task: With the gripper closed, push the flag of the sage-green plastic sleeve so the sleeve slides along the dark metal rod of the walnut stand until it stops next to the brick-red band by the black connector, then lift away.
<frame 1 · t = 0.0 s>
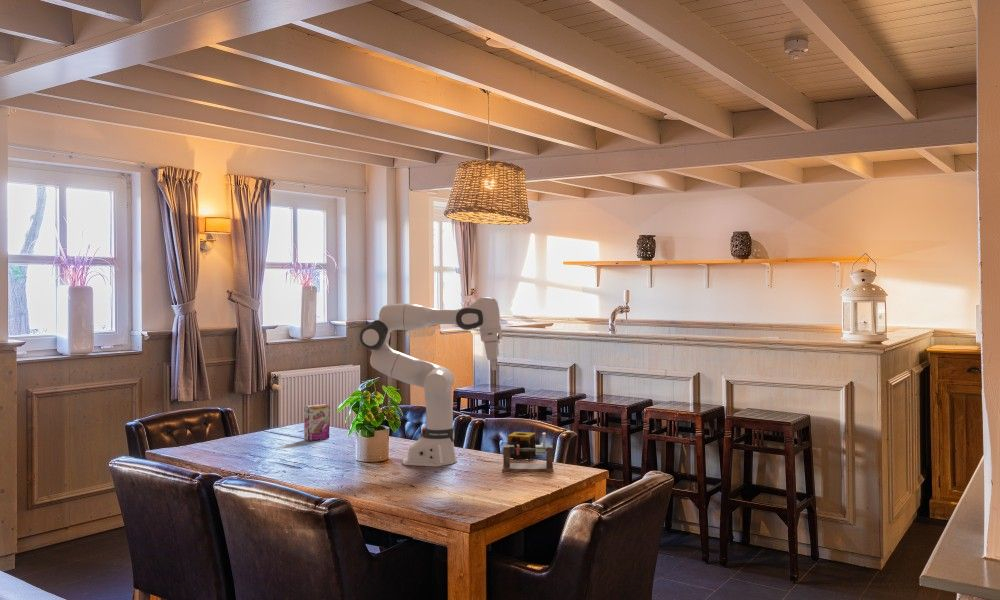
hand: (494, 368, 330), 39 cm above the table, tool pointing down, fingers open, 8 cm apart
candy bar box: (317, 439, 382), on the table
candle: (522, 457, 340), on the table
rod stand: (528, 469, 317), on the table
sleeve: (540, 443, 317), point 10 cm above the table, slide at 0.0 cm
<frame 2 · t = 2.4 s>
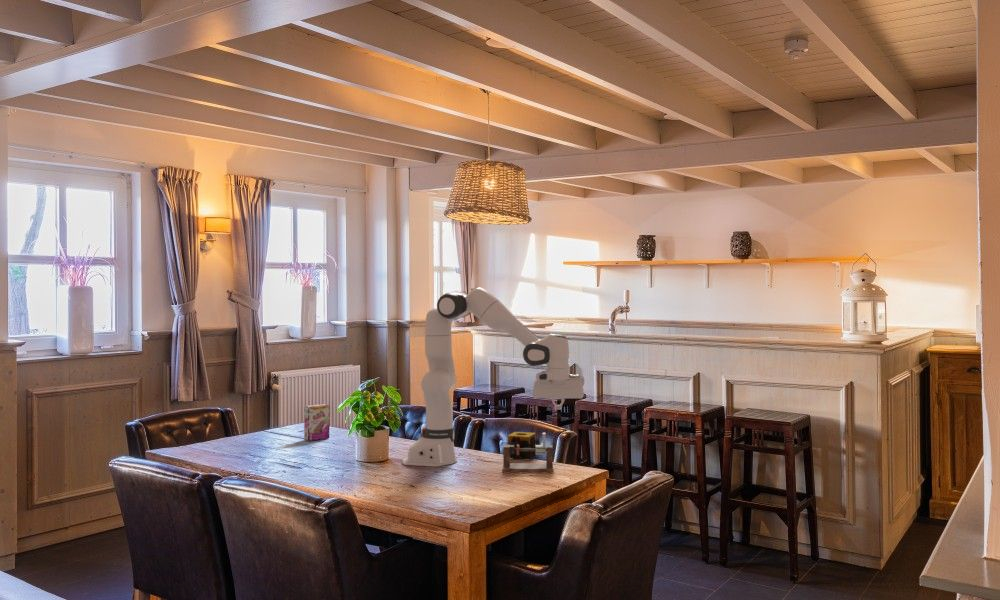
hand: (558, 409, 316), 24 cm above the table, tool pointing down, fingers closed
nothing on the table moved.
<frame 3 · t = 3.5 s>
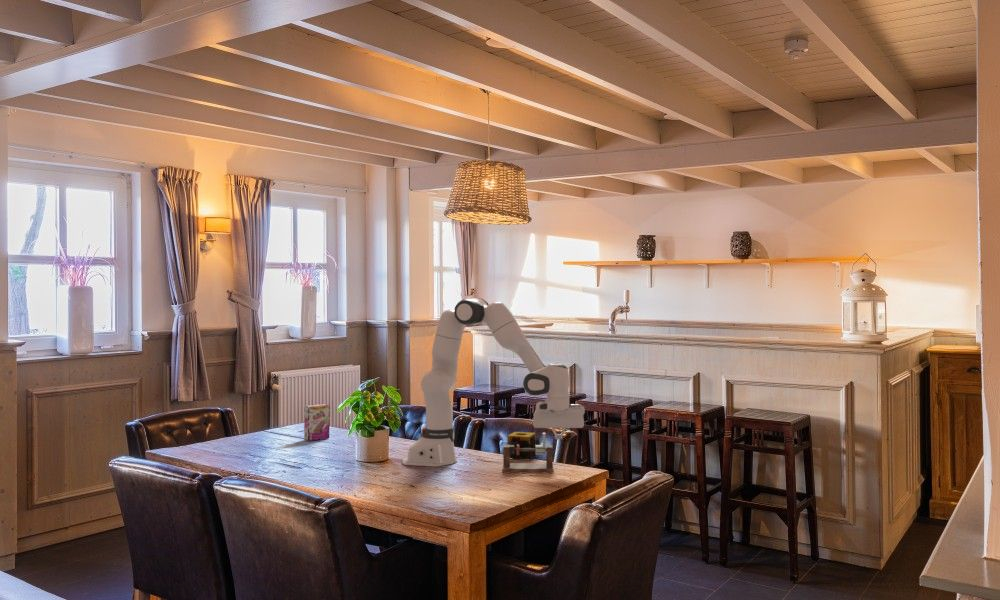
hand: (558, 438, 316), 12 cm above the table, tool pointing down, fingers closed
nothing on the table moved.
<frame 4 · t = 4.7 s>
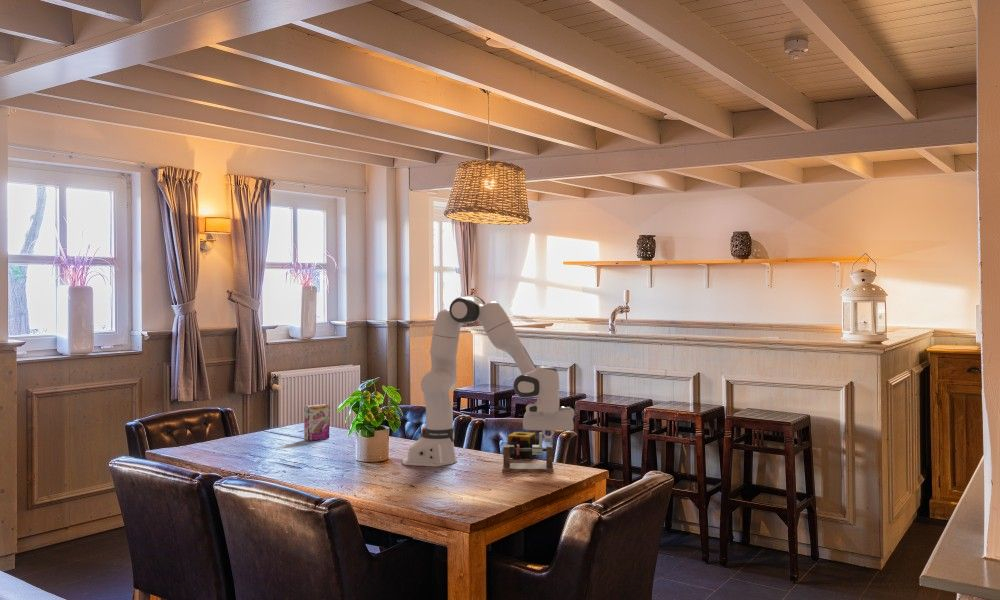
hand: (548, 441, 317), 11 cm above the table, tool pointing down, fingers closed
sleeve: (537, 443, 317), point 11 cm above the table, slide at 1.3 cm, touching gripper
everything else where it was.
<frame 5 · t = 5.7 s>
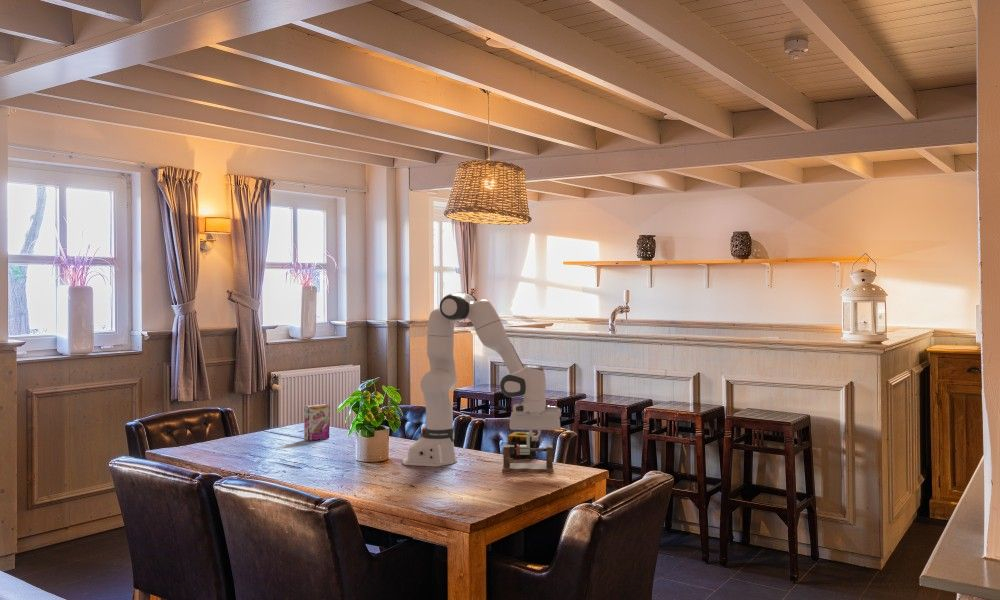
hand: (535, 440, 317), 12 cm above the table, tool pointing down, fingers closed
sleeve: (524, 443, 317), point 11 cm above the table, slide at 6.3 cm, touching gripper
everything else where it was.
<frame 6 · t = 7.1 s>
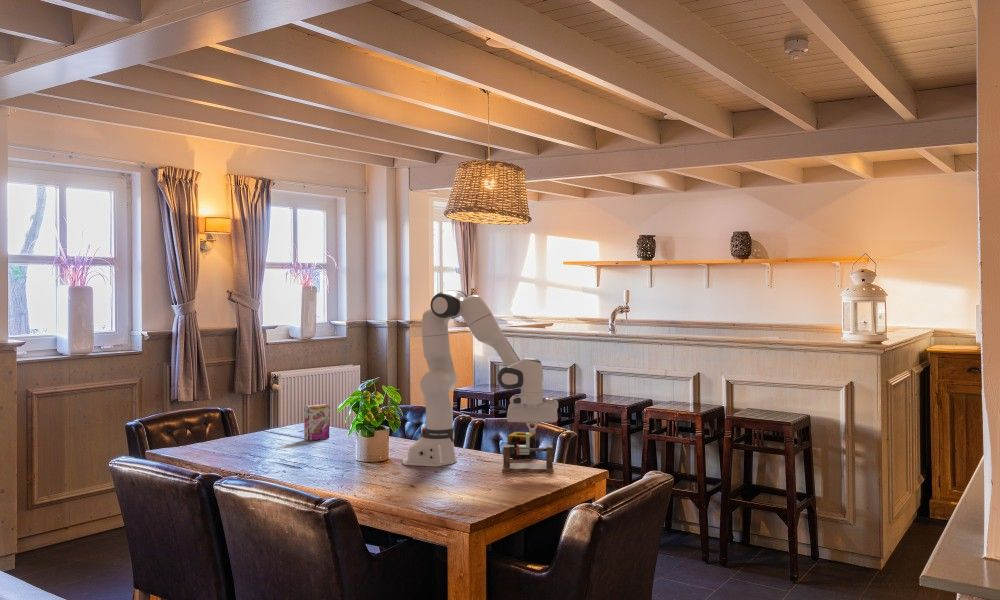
hand: (532, 433, 317), 15 cm above the table, tool pointing down, fingers closed
nothing on the table moved.
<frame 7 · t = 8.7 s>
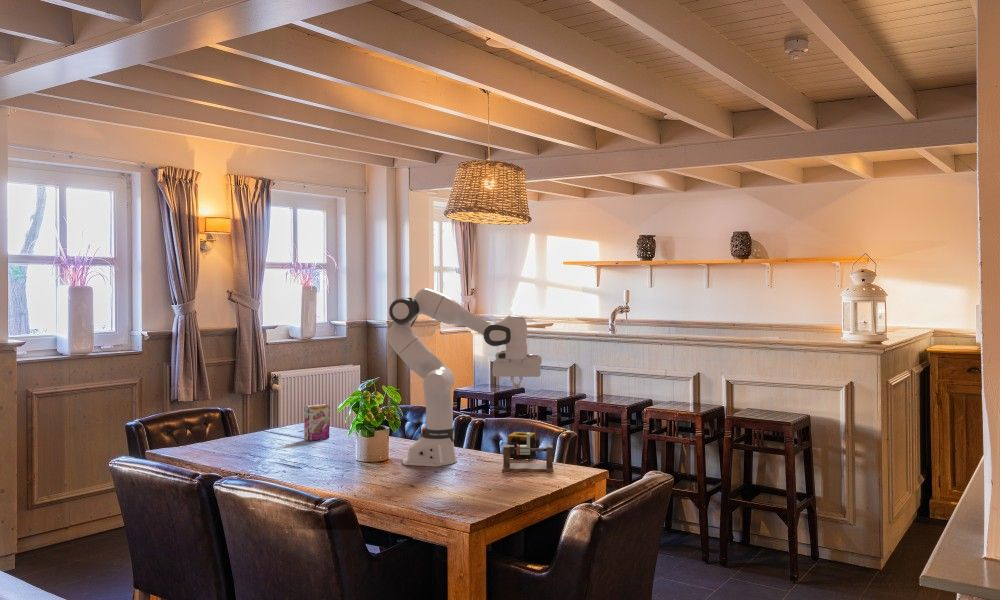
hand: (516, 387, 332), 31 cm above the table, tool pointing down, fingers closed
sleeve: (524, 443, 317), point 10 cm above the table, slide at 6.3 cm
everything else where it was.
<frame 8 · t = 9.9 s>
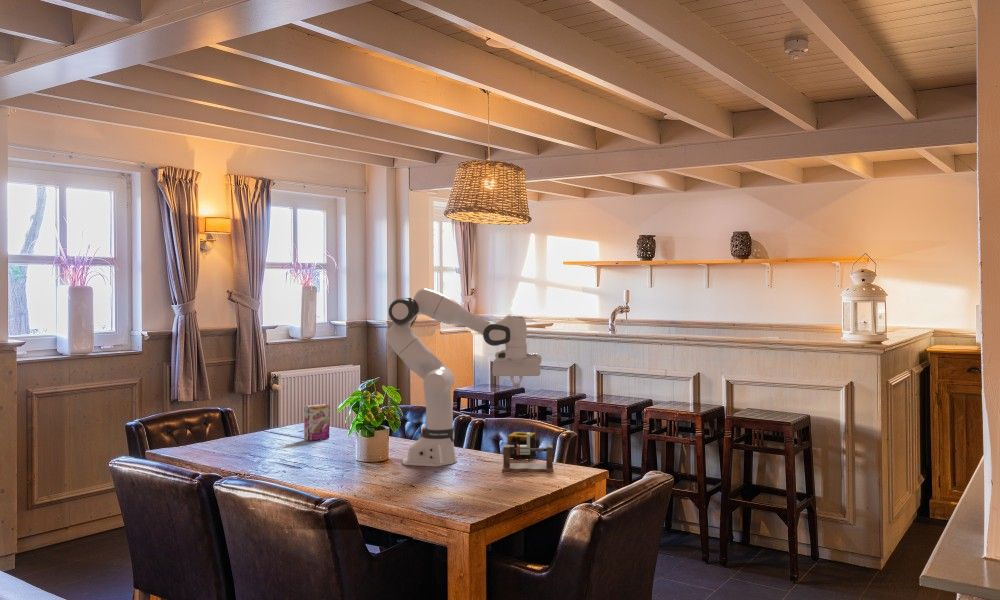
hand: (516, 386, 332), 31 cm above the table, tool pointing down, fingers closed
nothing on the table moved.
at the end: sleeve slide at 6.3 cm; the gripper is holding nothing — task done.
